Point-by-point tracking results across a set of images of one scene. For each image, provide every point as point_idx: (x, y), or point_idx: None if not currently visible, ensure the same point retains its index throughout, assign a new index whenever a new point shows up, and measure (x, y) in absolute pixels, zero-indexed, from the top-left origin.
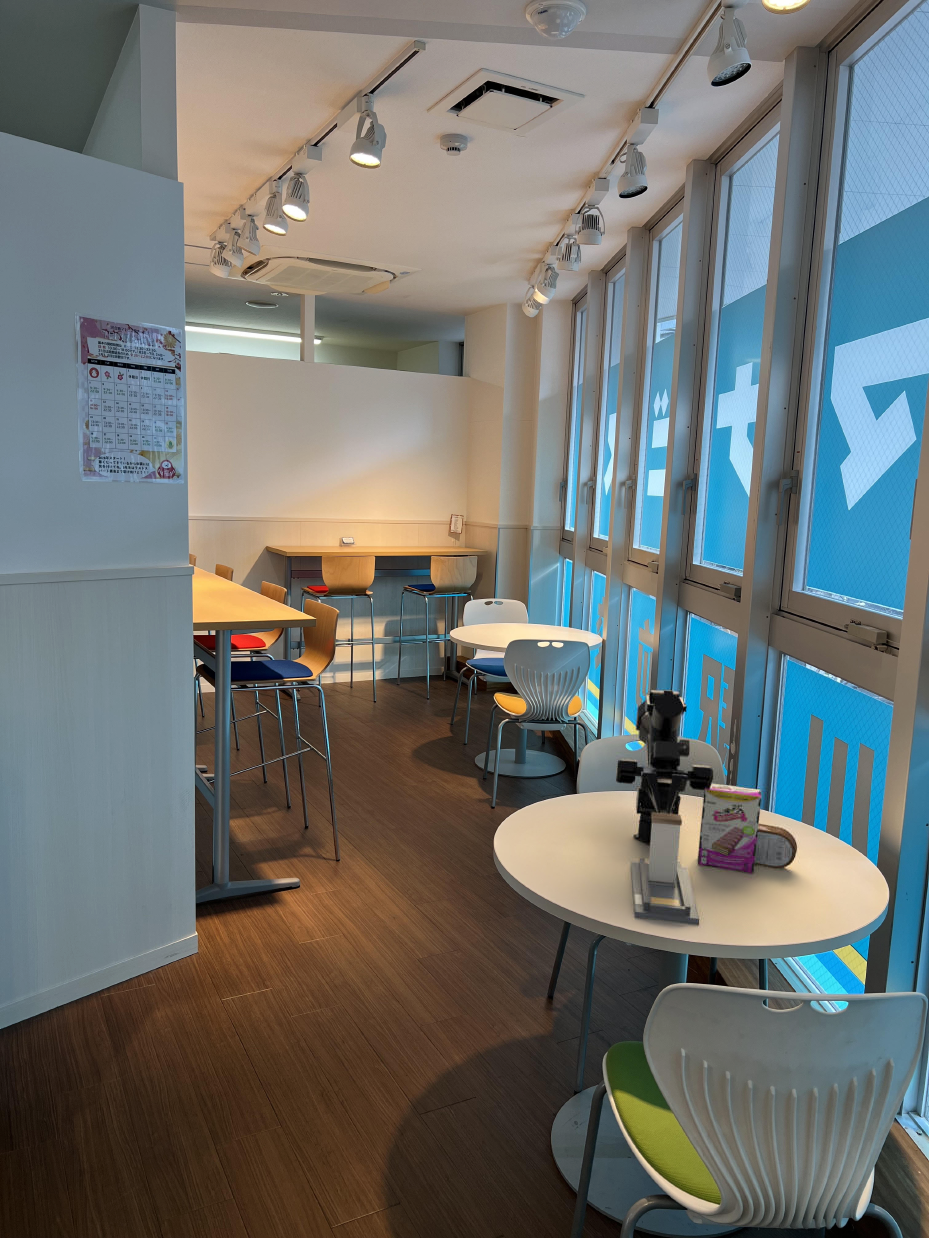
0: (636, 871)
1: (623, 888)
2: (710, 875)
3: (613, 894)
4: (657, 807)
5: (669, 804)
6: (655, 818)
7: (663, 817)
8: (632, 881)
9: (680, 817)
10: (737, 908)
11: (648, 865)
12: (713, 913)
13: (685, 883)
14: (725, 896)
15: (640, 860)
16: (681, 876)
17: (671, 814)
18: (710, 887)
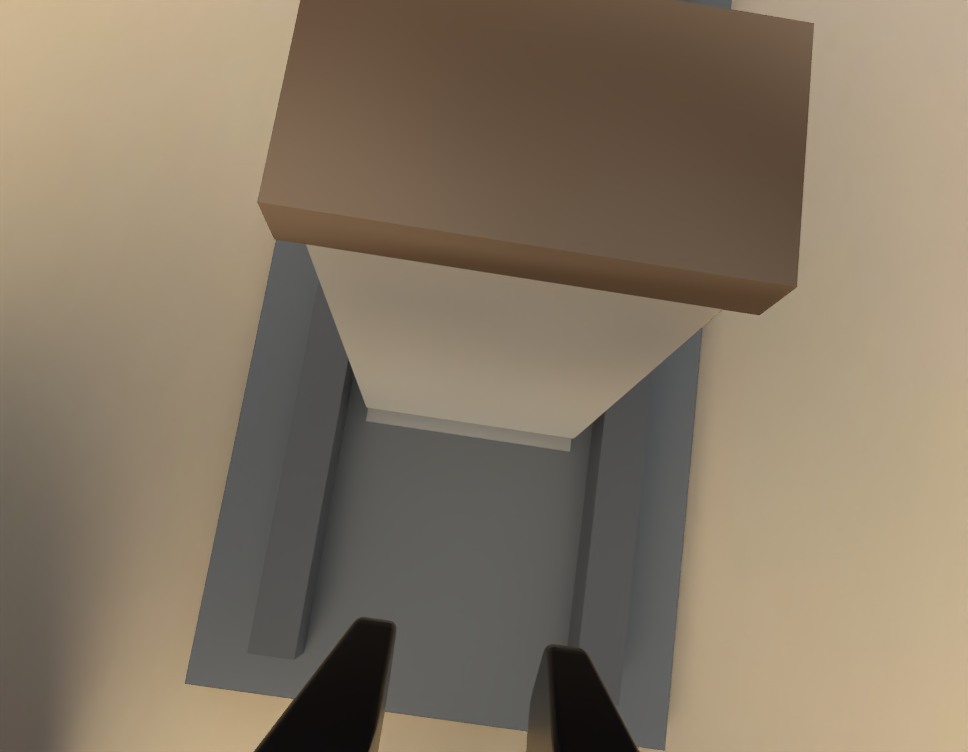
0: (644, 548)
1: (753, 332)
2: (3, 638)
3: (829, 236)
4: (604, 693)
5: (342, 733)
6: (758, 19)
7: (616, 44)
8: (694, 381)
9: (296, 71)
10: (20, 96)
11: (522, 688)
12: (216, 23)
13: (294, 359)
14: (32, 266)
15: (618, 632)
16: (327, 331)
17: (431, 203)
18: (91, 406)
